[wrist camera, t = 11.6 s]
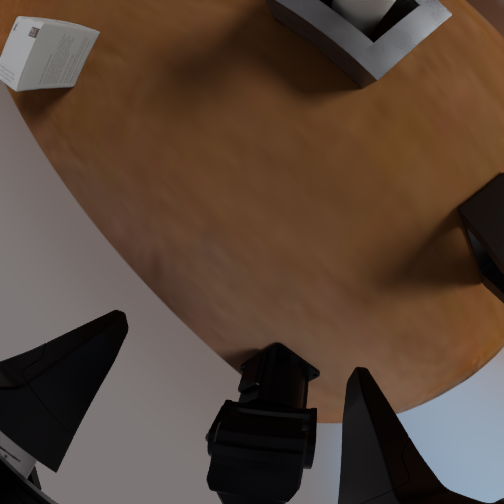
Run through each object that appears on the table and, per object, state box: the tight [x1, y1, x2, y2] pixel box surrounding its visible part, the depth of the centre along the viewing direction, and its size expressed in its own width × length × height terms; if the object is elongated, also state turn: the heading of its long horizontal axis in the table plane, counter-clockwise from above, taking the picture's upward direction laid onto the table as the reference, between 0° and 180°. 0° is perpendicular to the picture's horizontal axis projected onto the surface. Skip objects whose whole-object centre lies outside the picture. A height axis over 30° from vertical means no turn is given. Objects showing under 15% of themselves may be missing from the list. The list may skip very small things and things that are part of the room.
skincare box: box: [0, 16, 100, 92], centre depth 13 cm, size 6×6×7 cm
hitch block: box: [266, 0, 452, 89], centre depth 11 cm, size 8×8×4 cm
